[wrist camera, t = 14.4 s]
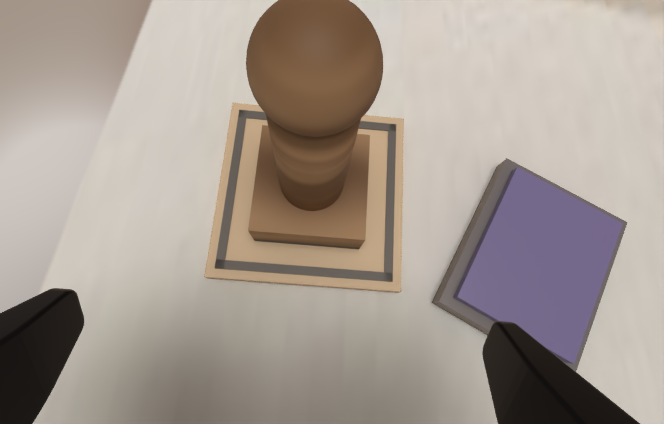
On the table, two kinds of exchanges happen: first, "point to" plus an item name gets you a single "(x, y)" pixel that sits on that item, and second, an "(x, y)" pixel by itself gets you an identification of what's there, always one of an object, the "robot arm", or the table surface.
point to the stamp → (313, 121)
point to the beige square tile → (304, 260)
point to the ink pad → (533, 261)
